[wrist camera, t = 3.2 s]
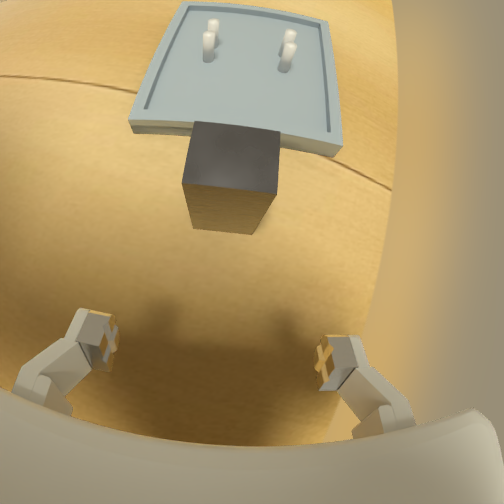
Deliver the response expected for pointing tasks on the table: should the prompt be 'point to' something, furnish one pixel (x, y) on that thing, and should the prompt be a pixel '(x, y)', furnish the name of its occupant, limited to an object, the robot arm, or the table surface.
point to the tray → (243, 76)
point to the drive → (230, 176)
